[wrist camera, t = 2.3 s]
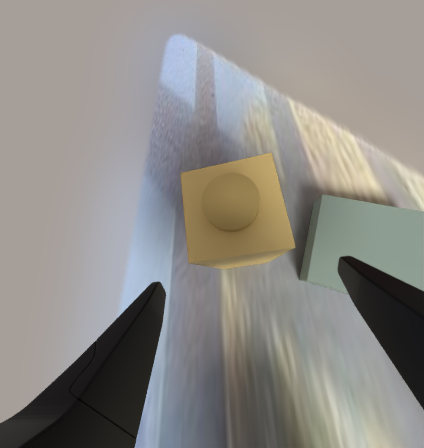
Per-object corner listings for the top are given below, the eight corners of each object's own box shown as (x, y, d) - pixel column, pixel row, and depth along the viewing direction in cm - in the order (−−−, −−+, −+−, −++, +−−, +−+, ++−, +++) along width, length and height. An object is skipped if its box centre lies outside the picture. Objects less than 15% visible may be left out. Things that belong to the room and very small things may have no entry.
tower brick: (266, 262, 19) (301, 244, 7) (223, 268, 19) (182, 262, 7) (258, 221, 20) (273, 141, 8) (217, 228, 21) (174, 164, 9)
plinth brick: (397, 307, 16) (423, 314, 14) (299, 279, 18) (307, 280, 15) (404, 221, 17) (428, 212, 15) (313, 203, 19) (322, 194, 17)
